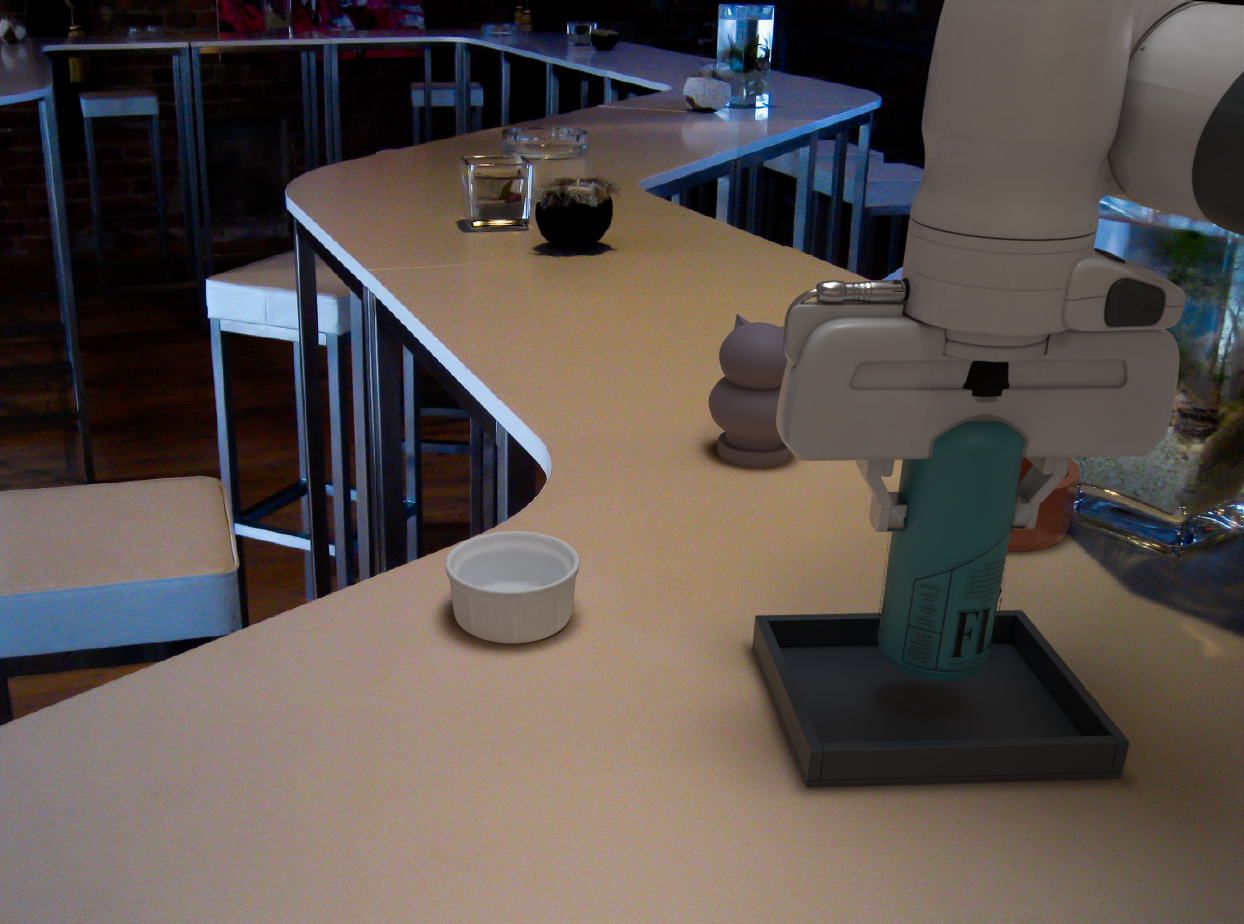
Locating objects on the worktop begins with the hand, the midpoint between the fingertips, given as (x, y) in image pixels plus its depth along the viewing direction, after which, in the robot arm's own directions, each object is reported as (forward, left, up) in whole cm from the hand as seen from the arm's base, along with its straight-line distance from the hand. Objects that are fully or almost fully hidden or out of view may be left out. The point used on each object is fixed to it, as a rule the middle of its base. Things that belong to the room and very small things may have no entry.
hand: (951, 526), depth 67 cm
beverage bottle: (0, 0, -10) cm, 10 cm away
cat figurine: (+2, -40, -12) cm, 42 cm away
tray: (0, 0, -12) cm, 12 cm away
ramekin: (+24, -12, -12) cm, 30 cm away
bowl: (-14, -26, -12) cm, 32 cm away
